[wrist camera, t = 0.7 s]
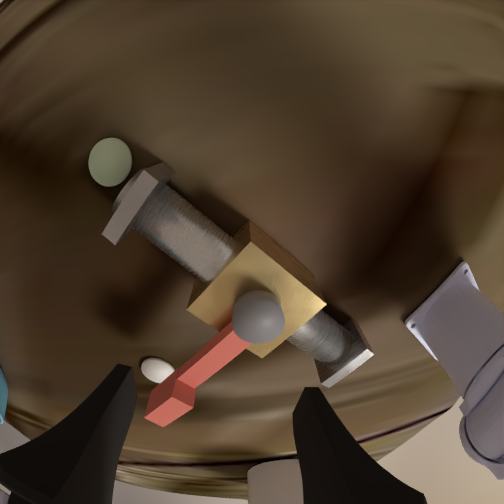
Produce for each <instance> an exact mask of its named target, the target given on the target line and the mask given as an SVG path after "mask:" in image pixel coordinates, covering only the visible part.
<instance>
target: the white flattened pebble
mask: <svg viewBox="0 0 504 504" xmlns="http://www.w3.org/2000/svg"><path fill="white" fill-rule="evenodd" d="M141 370H142V373H143V374H144V375H145V376H146V377H147V378H148V379H150V380H151V381H154V382H157V383H161V382H162V381H164V380H165V379H166V378H167V377H168V376H169V375H170V374H172V373H173V372H174V371H175V369H174V368H173V366H172V365H171V364H170V363H168V362H167V361H165V360H162V359H159V358H148V359H146V360H144V361H143V363H142V366H141Z"/></svg>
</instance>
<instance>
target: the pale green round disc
mask: <svg viewBox="0 0 504 504" xmlns="http://www.w3.org/2000/svg"><path fill="white" fill-rule="evenodd" d="M88 164H89V170H90V173H91V175H92V177H93V178H94V180H95V181H96V182H97V183H99V184H101V185H103V186H108V187H110V186H115V185H118V184H120V183H121V182H123V181H124V180H125V179H126V178H127V177H128V175H129V173H130V171H131V168H132V154H131V151H130V149H129V147H128V146H127V144H126V143H125V142H123V141H122V140H120V139H117V138H106V139H103V140H101V141H99V142H98V143H97V144H96V145H95V146H94V147H93V149H92V151H91V153H90V156H89V163H88Z"/></svg>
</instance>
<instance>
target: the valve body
mask: <svg viewBox="0 0 504 504" xmlns="http://www.w3.org/2000/svg"><path fill="white" fill-rule="evenodd" d="M175 172H176V171H174V170H173V169H172V168H171V167H169V166H168V165H167V164H166V163H164V162H162V163H159V164H157V165H154V166H152V167H149V168H142V169H141V170H140V171H138V172H137V173H136V174H135V175H134V176H133V177H132V178H131V179H130V180H129V182H128V183H127V184H126V185H125V186H124V188H123V189H122V190H121V192H120V193H119V195H118V196H117V198H116V200H115V202H114V204H113V206H112V211H113V212H114V215H113V216H112V218H111V220H110V221H109V223H108V225H107V226H106V228H105V230H104V231H103V233H102V235H104V236H105V237H106V238H107V239H108V240H110V241H111V242H112V243H113V244H115V245H116V244H117V243H118V242H119V241H120V240H121V239H122V238H123V237H124V236H125V235H126V234H127V233H128V232H129V231H130V230H131V229H132V228H134V229H135V230H136V231H138V232H139V233H140V234H141V235H143V236H144V237H145V238H147V239H148V240H149V241H150V242H152V243H153V244H154V245H155V246H157V247H158V248H159V249H161V250H162V251H163V252H164V253H166V254H167V255H168V256H170V257H171V258H172V259H174V260H175V261H176V262H177V263H179V264H180V265H181V266H183V267H184V268H185V269H187V270H188V271H189V272H191V273H192V274H193V275H195V276H196V279H195V282H194V286H193V289H192V293H191V296H190V300H189V303H188V307H187V310H188V311H189V312H191V313H192V314H194V315H195V316H197V317H198V318H200V319H201V320H203V321H204V322H206V323H207V324H209V325H210V326H212V327H213V328H215V329H216V330H218V331H219V332H220V331H222V330H223V329H224V328H225V327H226V326H227V325H228V324H229V323H230V322H231V321H232V317H233V306H234V304H235V302H236V300H237V299H238V298H239V297H240V296H241V295H243V294H245V293H247V292H249V291H254V290H263V291H267V292H270V293H272V294H274V295H275V296H276V297H277V298H278V299H279V300H280V302H281V304H282V309H283V313H284V318H285V326H284V329H283V331H282V332H281V334H280V335H279V336H278V337H276V338H275V339H273V340H271V341H269V342H266V343H258V344H256V343H252V344H250V345H249V346H248V347H247V348H246V349H248V350H250V351H251V352H253V353H254V354H256V355H258V356H259V357H261V358H263V357H264V356H266V355H267V354H268V353H270V352H271V351H272V350H273V349H275V348H276V347H277V346H278V345H280V344H281V343H282V342H283V341H284V340H287V341H289V342H290V343H292V344H293V345H295V346H296V347H298V348H299V349H301V350H303V351H304V352H306V353H307V354H309V355H310V356H312V357H313V358H314V360H315V364H316V367H317V371H318V375H319V378H320V382H321V384H322V385H324V386H326V387H328V388H330V387H331V386H333V385H334V384H335V383H337V382H338V381H340V380H341V379H342V378H344V377H345V376H347V375H348V374H349V373H351V372H352V371H353V370H355V369H356V368H357V367H359V366H360V365H361V364H362V363H364V362H365V361H366V360H368V359H369V358H370V357H371V356H373V355H374V353H373V351H372V349H371V347H370V345H369V344H368V342H367V340H366V338H365V336H364V334H363V332H362V330H361V328H360V326H359V325H358V323H357V322H355V321H354V320H353V319H352V318H351V319H350V320H349V321H347V322H346V323H345V324H344V325H343V326H341V325H340V324H339V323H338V322H336V321H335V320H334V319H333V318H331V317H330V316H329V315H328V314H326V313H325V312H324V311H323V310H321V309H322V308H323V307H324V306H325V305H327V304H326V302H325V299H324V297H323V295H322V293H321V291H320V288H319V286H318V284H317V282H316V280H315V278H314V276H313V274H312V273H311V272H310V271H308V270H307V269H306V268H305V267H304V266H303V265H302V264H300V263H299V262H298V261H297V260H296V259H295V258H293V257H292V256H291V255H290V254H289V253H288V252H286V251H285V250H284V249H283V248H282V247H281V246H279V245H278V244H277V243H276V242H275V241H274V240H272V239H271V238H270V237H269V236H268V235H267V234H265V233H264V232H263V231H262V230H261V229H260V228H258V227H257V226H256V225H255V224H254V223H252V222H251V221H250V220H248V221H247V222H246V224H245V225H244V226H243V227H242V228H241V229H240V230H239V231H238V232H237V233H236V234H235V235H234V237H233V238H232V237H231V236H230V235H228V234H227V233H226V232H225V231H223V230H222V229H221V228H220V227H218V226H217V225H216V224H215V223H214V222H212V221H211V220H210V219H209V218H207V217H206V216H205V215H204V214H202V213H201V212H200V211H199V210H197V209H196V208H195V207H194V206H192V205H191V204H190V203H189V202H188V201H186V200H185V199H184V198H183V197H181V196H180V195H179V194H178V193H176V192H175V191H174V190H173V189H171V188H170V187H169V186H168V185H166V183H167V182H168V181H169V180H170V178H171V177H172V176H173V174H174V173H175Z"/></svg>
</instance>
